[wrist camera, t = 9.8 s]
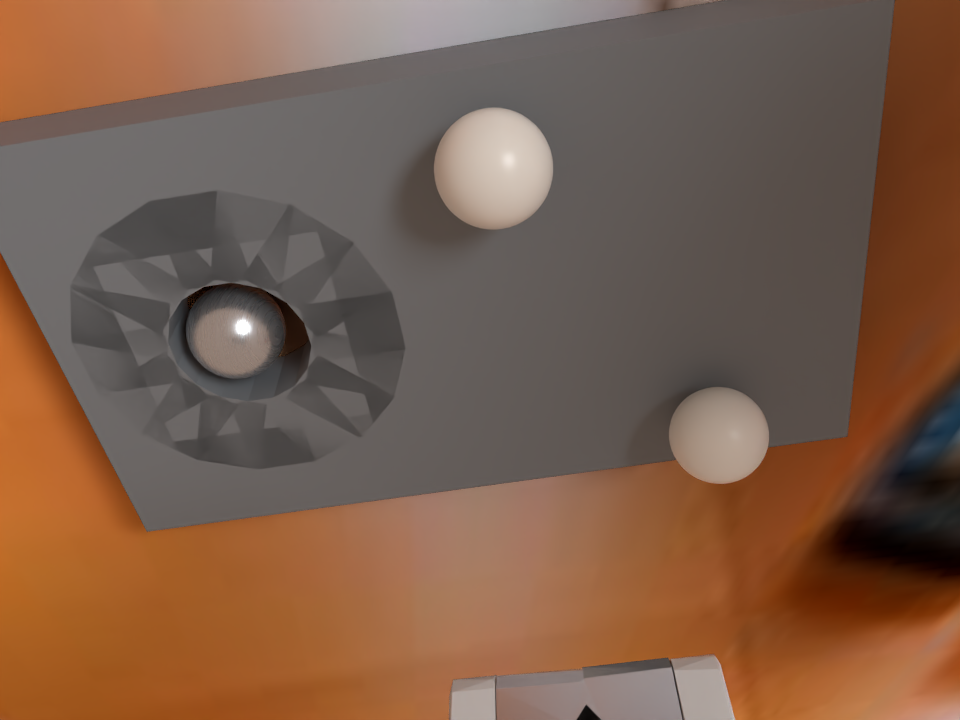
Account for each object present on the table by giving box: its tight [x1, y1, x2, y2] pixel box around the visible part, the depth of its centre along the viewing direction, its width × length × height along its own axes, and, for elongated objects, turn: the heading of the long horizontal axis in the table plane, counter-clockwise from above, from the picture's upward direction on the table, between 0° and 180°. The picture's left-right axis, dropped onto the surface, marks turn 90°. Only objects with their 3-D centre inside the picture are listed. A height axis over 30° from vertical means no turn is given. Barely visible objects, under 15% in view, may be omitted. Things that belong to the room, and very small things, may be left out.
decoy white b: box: [434, 108, 553, 230], centre depth 23 cm, size 3×3×3 cm
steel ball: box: [186, 283, 286, 379], centre depth 29 cm, size 3×3×3 cm
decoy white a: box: [669, 387, 769, 484], centre depth 29 cm, size 3×3×3 cm
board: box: [0, 0, 895, 532], centre depth 29 cm, size 26×15×2 cm, turn 99°
